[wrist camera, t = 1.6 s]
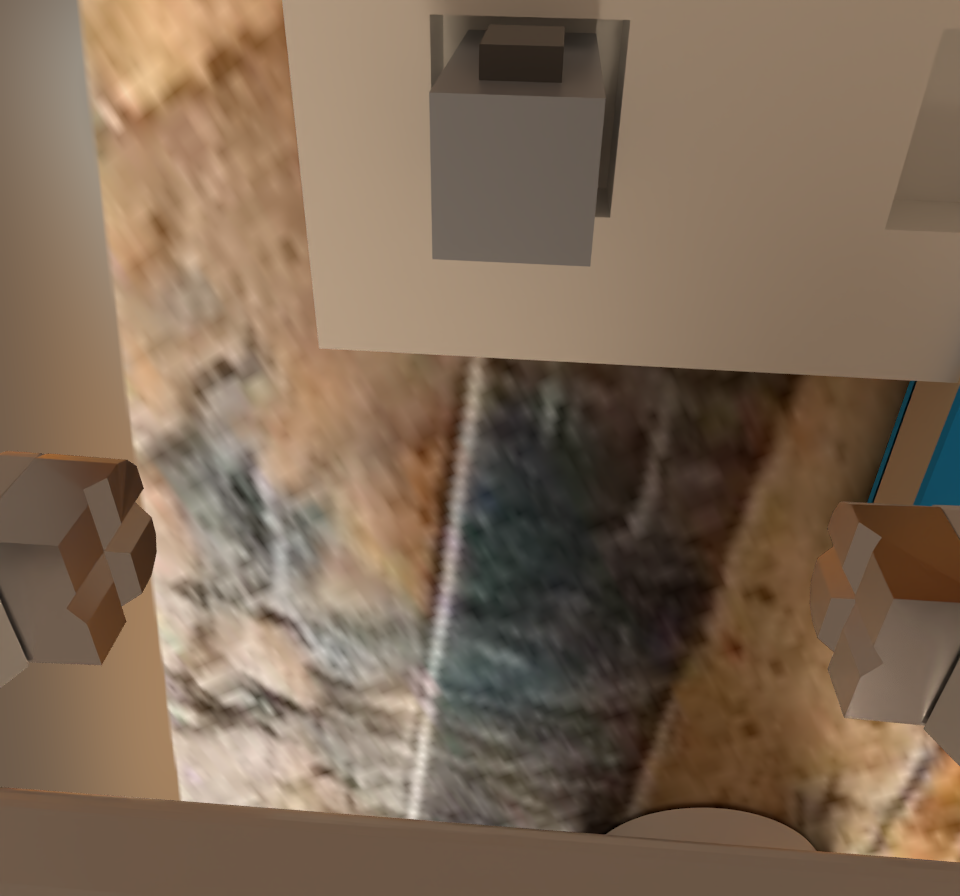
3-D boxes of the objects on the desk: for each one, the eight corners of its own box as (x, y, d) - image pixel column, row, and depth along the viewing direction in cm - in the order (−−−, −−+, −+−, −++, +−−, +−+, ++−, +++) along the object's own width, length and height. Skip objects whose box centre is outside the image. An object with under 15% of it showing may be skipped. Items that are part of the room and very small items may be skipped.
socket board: (1082, 338, 32) (1146, 397, 28) (343, 300, 34) (317, 352, 30) (1331, -200, 23) (1472, -212, 19) (300, -211, 24) (255, -224, 21)
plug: (585, 163, 29) (590, 266, 21) (467, 158, 29) (432, 259, 22) (598, 4, 26) (609, 60, 19) (468, 0, 26) (428, 54, 19)
